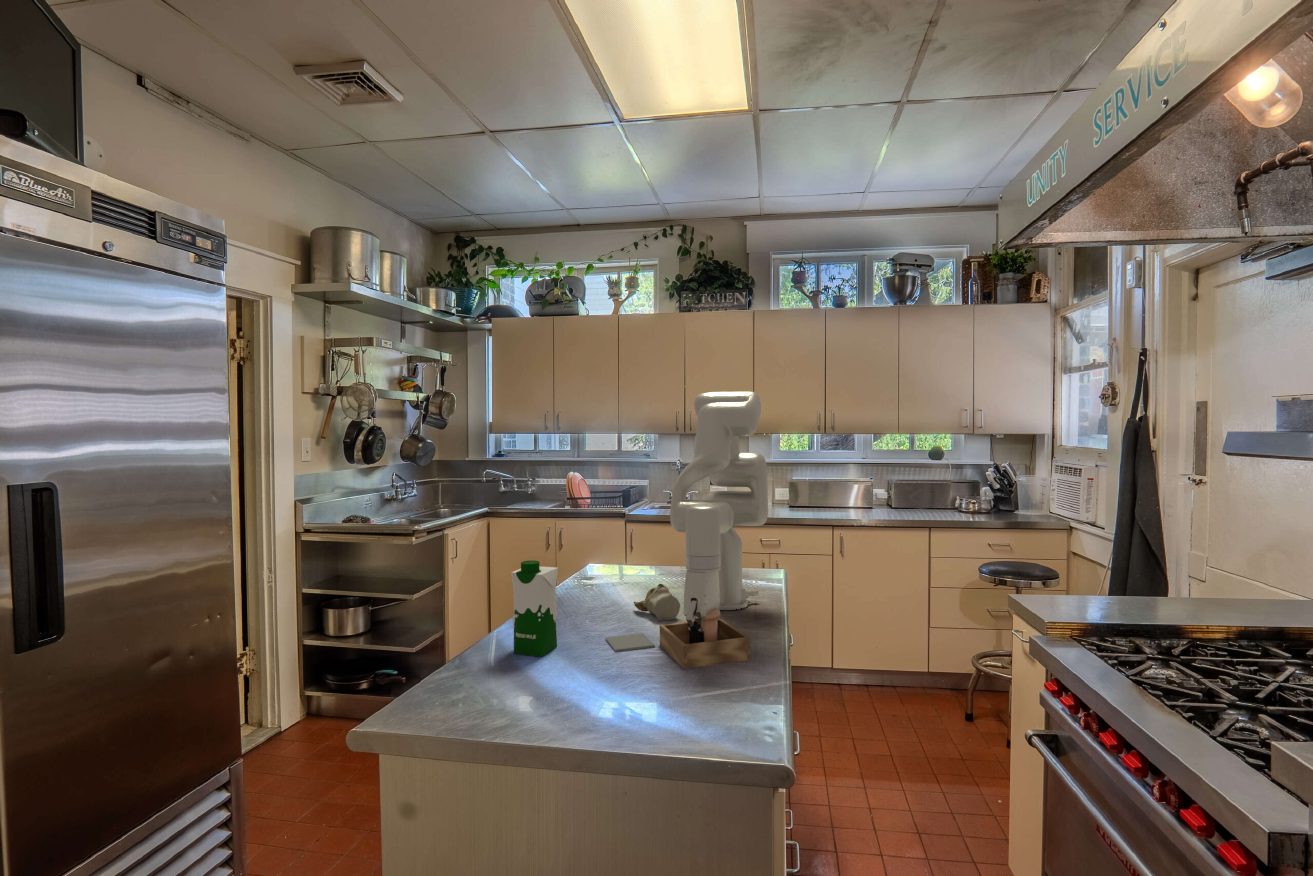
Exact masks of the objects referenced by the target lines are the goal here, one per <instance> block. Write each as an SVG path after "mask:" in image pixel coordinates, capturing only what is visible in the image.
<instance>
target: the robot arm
mask: <svg viewBox="0 0 1313 876" xmlns="http://www.w3.org/2000/svg"><path fill="white" fill-rule="evenodd" d="M693 404H694V405H693V406H694V411H695V415H696V417H697V422H696V433H695V445H694V447H695V448H694V457H693V460H692V461H691V462H689V464H687V465H686V466H685V467H684V468H683V470H682V471H681V472H680V473H679V475H678V476H677V478H676V479H675V481H674V484H673V487H672V491H671V492H672V493H671V499H670V500H671V501H670V510H669V511H670V513H669V520H670V521H669V522H670V525H671V527H672V529H674V531H676V532H677V533H685V570H686V573H685V580H684V588H683V589H684V591H683V592H684V593H683V615H684V616H685V620H686V622H688V626H689V644H693V643H701V642H704V631H702V630H703V624H704V620H703V619H704V618H706V617H707V615H708V614H710V613H711V612H713V611H714V610H716V609H717V608H718V609H719V610H720V611H735V610H736V609H737V610H742V609H746V608H747V607H748V605H749V600H748V598H749V597H758V596H759V590H758V589H757V588H754V589H751V588H745V587H743V543H742V538H741V536H740V535H739V534H738V532H737V531H736V530H735V528H733V527H738V526H741V527H759V526H762V525H765V524H766V522H767V520H768V516H769V497H768V495H769V493H768V490H769V487H768V466H767V461H766V459H765V456H764V455H763V454H761V453H759V452H751V451H750V452H748V451H745V452H744V451H740V447H739V443H740V438H739V437H751V436H754V434H755V433H756V431H757V429H758V426H759V421H760V419H761V418H760V417H761V413H762V403H761V398H760V397H759V395H758V393H756V392H755V391H742V390H741V391H739V390H738V391H710V392H702V393H699V394H697V395H696V396H695V398H694V402H693ZM707 477H709V481H710V483H711V484H712V485H714V486H716V487H721V488H722V487H723V488H749V491H748V490H747V491H745V490H716V491H712V492H710V493H708V494H707V495H706V496H705V498H704V499H685V497H686V494H687V492H688V490H689V489H690V488H691V487H692V486H693V485H694V484H696V483H697V482H699V481H701V480H702V479H705V478H707ZM741 608H742V609H741ZM695 613H696V614H701V615H700V616H695ZM695 619H699V620H700V621H699V624H698V622H697V621H695ZM717 619H719V618H717Z"/></svg>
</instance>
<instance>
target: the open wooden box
mask: <svg viewBox="0 0 1313 876" xmlns="http://www.w3.org/2000/svg"><path fill="white" fill-rule="evenodd" d="M659 646H660V647H661V648H662V649H663V650H664V651H665V652H666V653H667V654H668V655H669V656H670V657H671V658H672V659H673V660H674V661H676V662H677V663H678V665H679V666H681V668H682V669H691V668H698V667H705V666H714V665H718V664H719V665H720V664H727V663H728V664H729V663H736V662H744V661H751V658H752V657H751V656H752V655H751V637H750V636H748V635H747V634H745V633H743V632H742V631H741V630H739V629H737V628H736V627H734V626H733V625H731V624H730V623H728V622H727V621H725V620H724V619H722V618H718V619H717V641H710V642H701V643H693V644H689V626H688V622H687V621H686V622H678V623H677V622H676V623H668V624H667V623H666V624H660V625H659Z"/></svg>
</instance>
